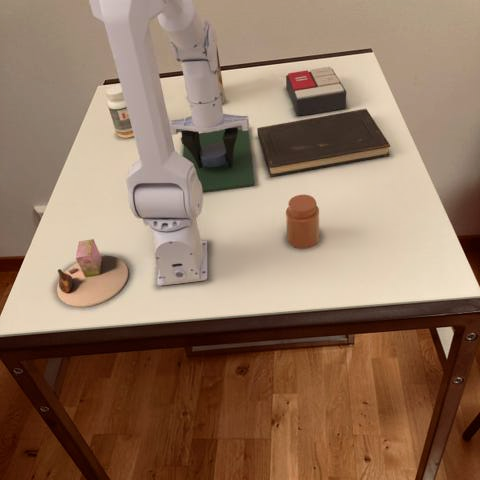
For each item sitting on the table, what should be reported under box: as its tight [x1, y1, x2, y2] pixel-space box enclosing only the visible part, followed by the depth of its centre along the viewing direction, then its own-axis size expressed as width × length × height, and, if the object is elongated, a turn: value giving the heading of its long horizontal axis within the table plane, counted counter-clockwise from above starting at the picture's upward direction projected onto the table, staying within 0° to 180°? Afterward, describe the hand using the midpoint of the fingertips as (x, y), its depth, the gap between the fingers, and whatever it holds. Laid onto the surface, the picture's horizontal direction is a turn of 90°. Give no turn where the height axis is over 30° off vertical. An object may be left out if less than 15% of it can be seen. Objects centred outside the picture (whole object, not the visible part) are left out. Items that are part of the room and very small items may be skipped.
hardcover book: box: [256, 108, 391, 178], centre depth 101 cm, size 16×23×2 cm
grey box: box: [285, 66, 347, 117], centre depth 115 cm, size 11×4×15 cm
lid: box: [200, 143, 227, 167], centre depth 98 cm, size 6×6×2 cm
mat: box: [182, 129, 255, 193], centre depth 103 cm, size 22×14×1 cm, turn 3°
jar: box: [285, 194, 320, 249], centre depth 81 cm, size 5×5×7 cm
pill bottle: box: [105, 84, 134, 139], centre depth 112 cm, size 6×6×10 cm
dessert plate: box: [56, 239, 130, 308], centre depth 82 cm, size 12×12×4 cm
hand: (216, 165), depth 100 cm, fingers closed on lid, 5 cm apart
